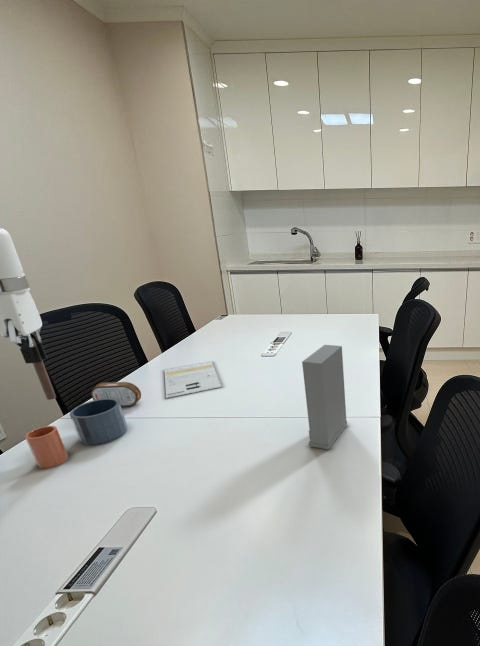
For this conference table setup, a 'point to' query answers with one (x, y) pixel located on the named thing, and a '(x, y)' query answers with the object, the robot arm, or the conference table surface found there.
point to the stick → (44, 378)
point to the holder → (47, 446)
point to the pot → (99, 421)
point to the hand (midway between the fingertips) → (36, 360)
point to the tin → (117, 392)
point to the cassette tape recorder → (325, 395)
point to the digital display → (190, 379)
